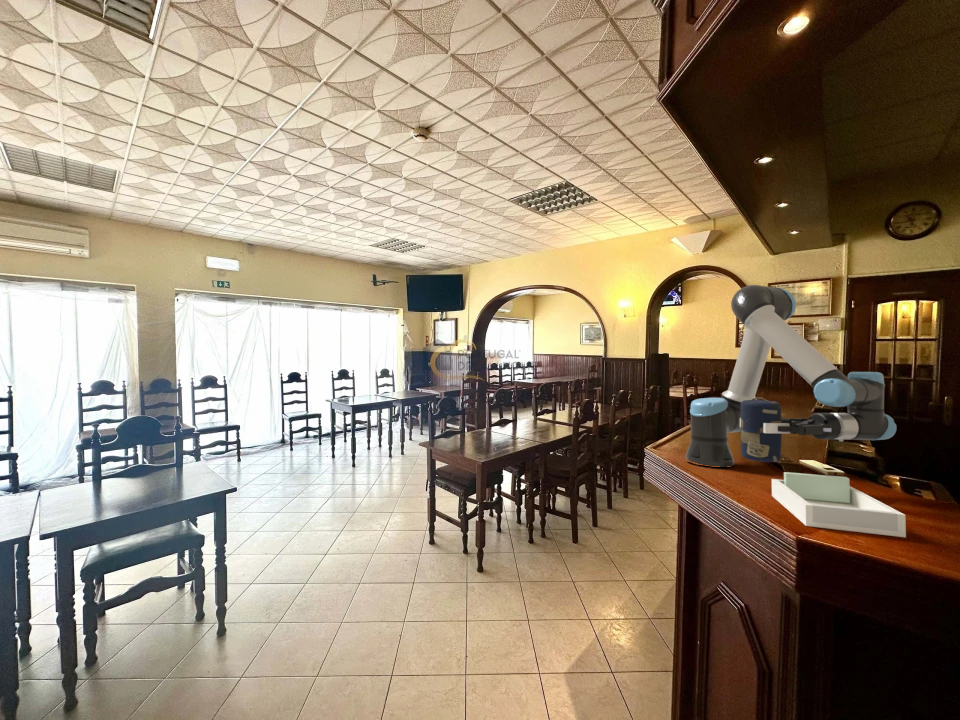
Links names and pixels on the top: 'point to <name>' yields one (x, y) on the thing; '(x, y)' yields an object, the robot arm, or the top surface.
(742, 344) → the robot arm
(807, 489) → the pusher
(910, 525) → the top surface
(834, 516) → the white tray
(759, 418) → the dark blue canister
